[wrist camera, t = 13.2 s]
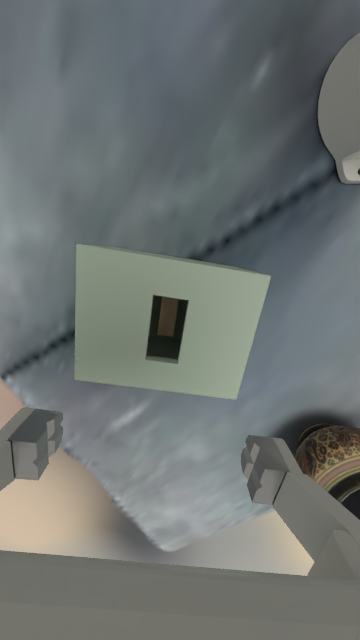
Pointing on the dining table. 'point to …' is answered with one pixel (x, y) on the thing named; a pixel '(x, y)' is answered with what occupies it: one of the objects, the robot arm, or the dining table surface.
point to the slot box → (144, 313)
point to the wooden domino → (168, 316)
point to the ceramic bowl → (333, 461)
